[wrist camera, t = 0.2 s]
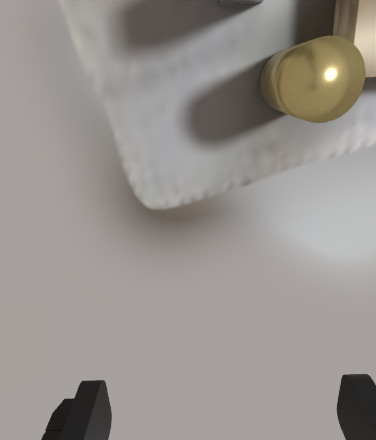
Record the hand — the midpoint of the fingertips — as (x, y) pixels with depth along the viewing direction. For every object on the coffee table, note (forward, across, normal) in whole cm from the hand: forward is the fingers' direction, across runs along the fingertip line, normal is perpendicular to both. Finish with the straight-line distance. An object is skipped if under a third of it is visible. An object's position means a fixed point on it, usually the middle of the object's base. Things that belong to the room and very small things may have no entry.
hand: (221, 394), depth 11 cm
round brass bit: (+29, -9, -9) cm, 32 cm away
